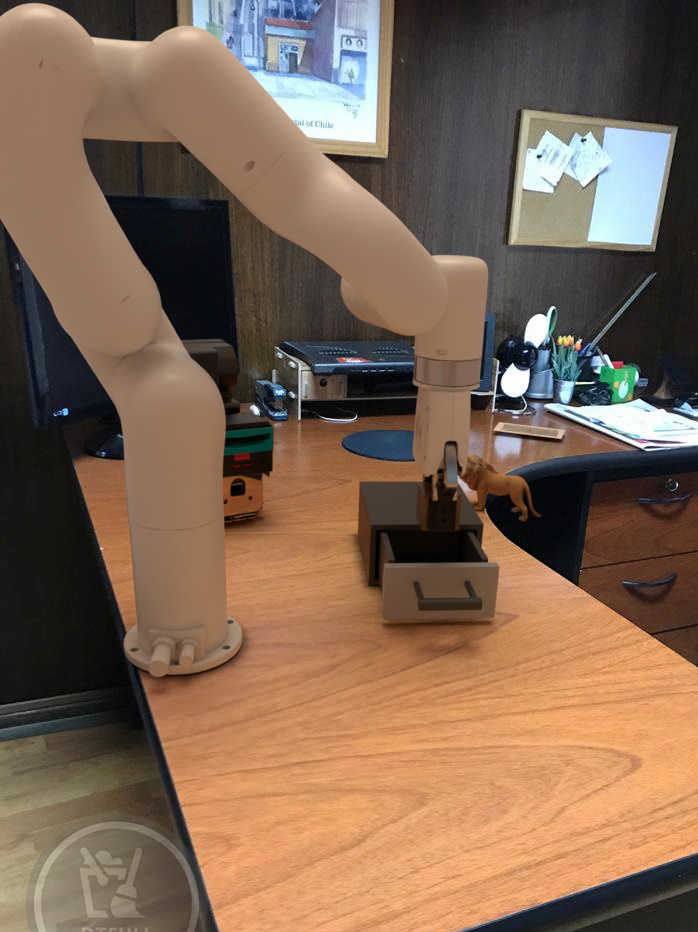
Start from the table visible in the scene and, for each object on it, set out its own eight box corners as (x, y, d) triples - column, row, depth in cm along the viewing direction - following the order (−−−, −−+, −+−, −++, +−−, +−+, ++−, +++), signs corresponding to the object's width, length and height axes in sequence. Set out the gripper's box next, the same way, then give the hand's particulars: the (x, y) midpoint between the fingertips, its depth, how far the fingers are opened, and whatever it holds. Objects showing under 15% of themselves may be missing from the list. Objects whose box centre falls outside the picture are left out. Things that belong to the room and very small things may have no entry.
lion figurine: (449, 508, 128) (453, 456, 125) (460, 498, 133) (464, 448, 129) (536, 525, 123) (543, 471, 119) (544, 514, 127) (551, 462, 124)
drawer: (506, 643, 87) (513, 589, 84) (388, 646, 85) (391, 590, 83) (466, 562, 106) (470, 516, 104) (369, 563, 105) (371, 517, 102)
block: (459, 530, 91) (461, 495, 90) (421, 531, 91) (423, 495, 89) (451, 516, 96) (454, 482, 94) (415, 516, 95) (417, 482, 93)
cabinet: (478, 584, 102) (483, 524, 99) (368, 585, 100) (370, 524, 97) (453, 534, 118) (457, 481, 114) (357, 535, 116) (359, 481, 113)
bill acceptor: (213, 535, 113) (207, 365, 104) (162, 488, 131) (152, 339, 122) (278, 523, 119) (277, 360, 110) (220, 479, 136) (215, 336, 127)
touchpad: (498, 426, 179) (499, 417, 178) (564, 434, 175) (565, 425, 174) (492, 435, 172) (493, 425, 171) (560, 443, 168) (562, 433, 167)
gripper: (403, 357, 94) (396, 498, 101) (426, 387, 78) (417, 552, 85) (463, 358, 95) (453, 497, 101) (498, 388, 79) (483, 551, 86)
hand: (437, 520), depth 93 cm, fingers closed on block, 4 cm apart
